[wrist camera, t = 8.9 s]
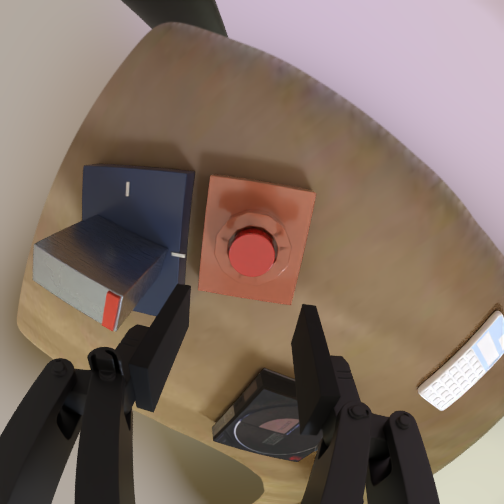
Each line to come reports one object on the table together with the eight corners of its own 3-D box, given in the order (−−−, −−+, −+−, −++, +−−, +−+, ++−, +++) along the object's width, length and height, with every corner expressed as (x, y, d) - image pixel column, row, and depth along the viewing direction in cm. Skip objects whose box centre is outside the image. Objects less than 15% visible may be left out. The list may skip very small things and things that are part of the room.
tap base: (94, 163, 27) (78, 165, 24) (200, 172, 27) (193, 174, 24) (96, 287, 32) (83, 298, 29) (188, 308, 32) (181, 322, 29)
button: (234, 224, 25) (231, 230, 23) (278, 232, 25) (278, 237, 23) (228, 265, 26) (225, 273, 25) (270, 272, 26) (270, 280, 25)
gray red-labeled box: (90, 242, 27) (30, 281, 17) (96, 214, 26) (31, 244, 16) (158, 277, 28) (114, 333, 18) (168, 248, 26) (121, 298, 17)
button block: (214, 173, 27) (206, 176, 23) (312, 190, 27) (320, 195, 23) (202, 281, 31) (193, 298, 27) (289, 295, 31) (292, 314, 27)
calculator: (414, 388, 36) (418, 395, 34) (497, 306, 31) (503, 311, 29) (439, 407, 39) (442, 413, 37) (508, 339, 33) (513, 344, 31)
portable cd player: (260, 366, 35) (259, 387, 31) (354, 398, 37) (359, 416, 33) (213, 421, 40) (209, 439, 36) (296, 445, 42) (297, 461, 38)
